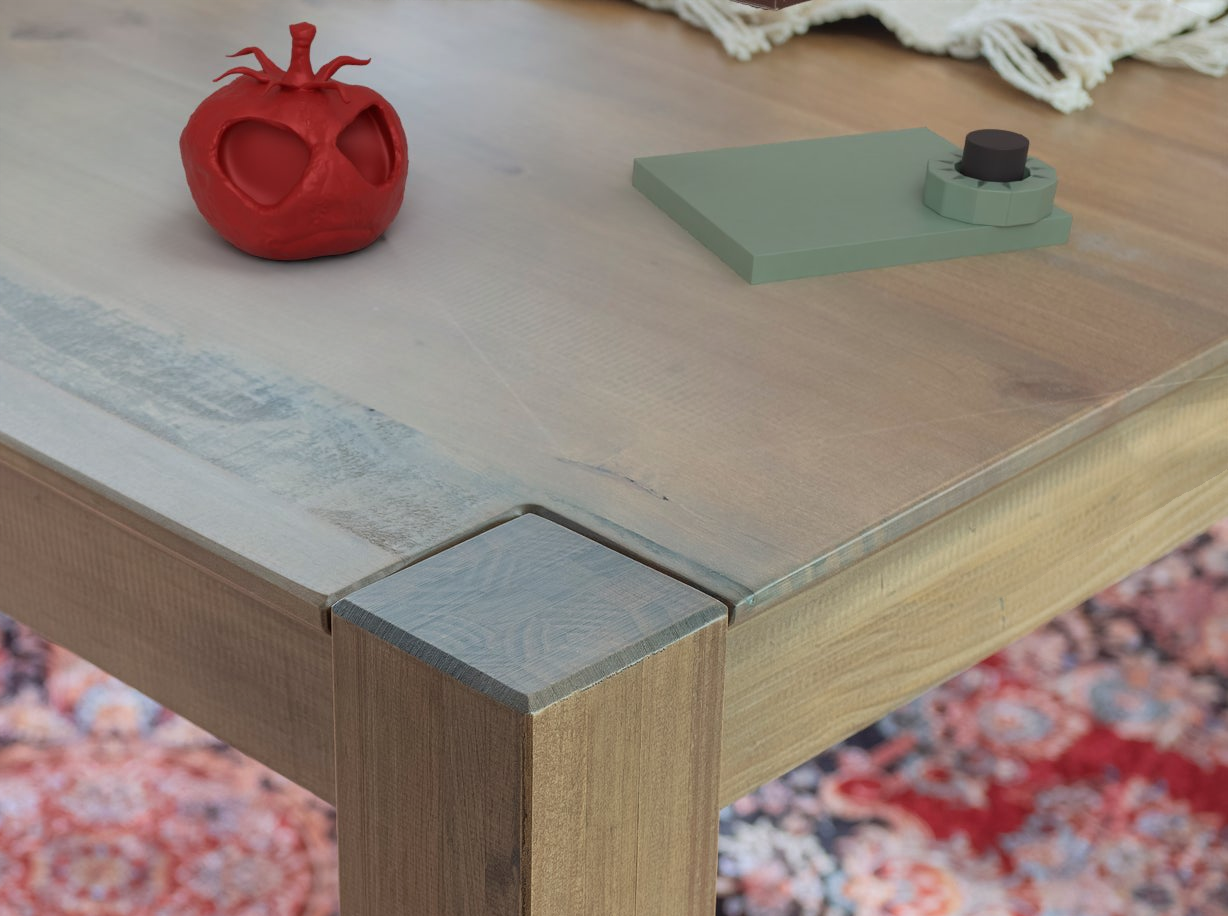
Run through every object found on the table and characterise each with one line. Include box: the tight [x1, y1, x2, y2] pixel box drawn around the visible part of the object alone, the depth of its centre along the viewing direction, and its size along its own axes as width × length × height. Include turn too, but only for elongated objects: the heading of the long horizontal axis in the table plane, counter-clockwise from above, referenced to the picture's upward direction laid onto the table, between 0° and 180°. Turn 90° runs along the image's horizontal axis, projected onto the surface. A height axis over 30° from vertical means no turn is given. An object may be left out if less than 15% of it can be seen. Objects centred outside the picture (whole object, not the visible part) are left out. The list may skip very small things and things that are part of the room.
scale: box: [631, 126, 1074, 286], centre depth 88 cm, size 16×13×3 cm
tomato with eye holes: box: [178, 21, 410, 261], centre depth 83 cm, size 10×10×9 cm
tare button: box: [960, 128, 1030, 183], centre depth 86 cm, size 3×3×2 cm
